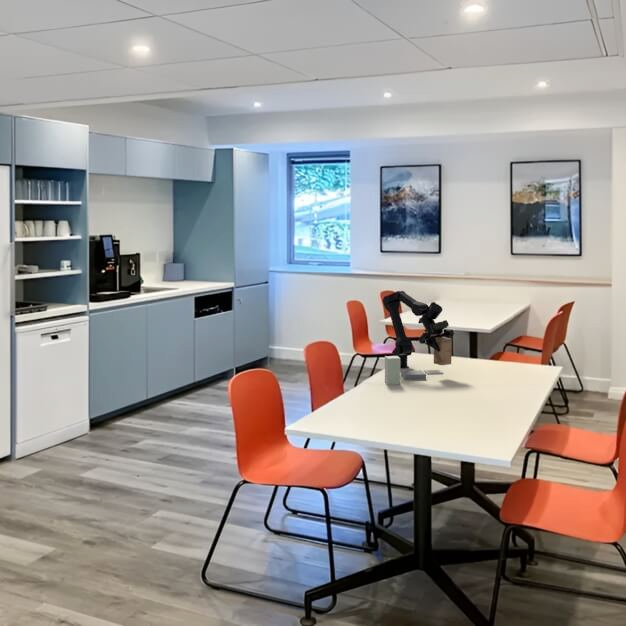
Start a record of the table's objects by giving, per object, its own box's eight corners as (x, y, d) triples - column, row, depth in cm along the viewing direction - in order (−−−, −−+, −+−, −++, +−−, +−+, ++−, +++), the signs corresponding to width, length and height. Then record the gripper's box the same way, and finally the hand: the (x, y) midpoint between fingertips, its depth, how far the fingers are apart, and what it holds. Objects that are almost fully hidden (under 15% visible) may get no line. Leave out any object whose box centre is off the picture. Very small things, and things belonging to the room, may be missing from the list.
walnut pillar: (433, 363, 364) (434, 338, 362) (443, 361, 367) (443, 336, 366) (441, 365, 359) (442, 339, 357) (451, 364, 362) (451, 338, 360)
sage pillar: (384, 382, 354) (384, 356, 353) (397, 381, 355) (397, 355, 354) (387, 385, 348) (387, 358, 347) (400, 384, 349) (400, 358, 348)
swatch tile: (423, 371, 379) (423, 369, 379) (438, 370, 380) (438, 369, 380) (427, 374, 371) (427, 373, 371) (443, 373, 372) (443, 372, 372)
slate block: (401, 376, 369) (401, 370, 368) (420, 376, 370) (421, 370, 369) (405, 380, 359) (405, 374, 358) (425, 380, 360) (426, 374, 359)
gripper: (422, 316, 359) (437, 342, 351) (452, 313, 368) (467, 338, 360) (412, 330, 366) (426, 356, 358) (441, 327, 376) (455, 352, 368)
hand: (444, 350), depth 361 cm, fingers closed on walnut pillar, 6 cm apart
